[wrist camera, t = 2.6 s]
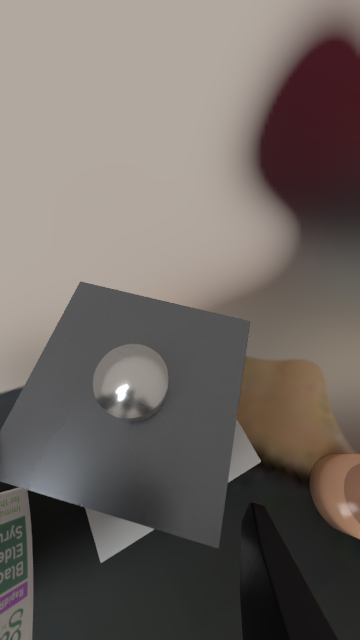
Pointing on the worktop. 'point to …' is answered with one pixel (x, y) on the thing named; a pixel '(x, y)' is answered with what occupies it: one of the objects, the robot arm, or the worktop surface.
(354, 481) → the terracotta bowl
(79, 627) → the worktop surface
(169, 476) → the charcoal cover canister
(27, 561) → the syrup box
